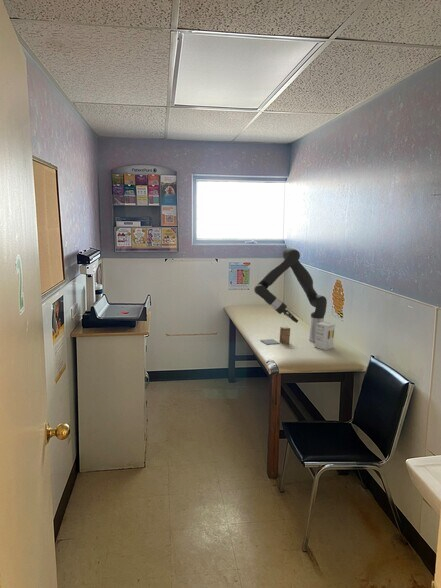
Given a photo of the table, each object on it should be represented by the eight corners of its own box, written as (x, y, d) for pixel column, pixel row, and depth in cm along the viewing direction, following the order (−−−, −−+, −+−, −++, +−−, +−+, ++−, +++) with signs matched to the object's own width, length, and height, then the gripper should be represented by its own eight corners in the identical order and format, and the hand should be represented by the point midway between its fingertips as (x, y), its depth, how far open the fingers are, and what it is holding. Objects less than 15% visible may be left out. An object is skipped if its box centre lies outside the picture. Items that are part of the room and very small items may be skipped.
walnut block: (279, 342, 308) (280, 326, 306) (285, 341, 310) (286, 326, 308) (282, 343, 303) (283, 328, 301) (289, 343, 305) (290, 328, 303)
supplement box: (326, 350, 292) (328, 325, 289) (314, 347, 299) (316, 323, 296) (333, 347, 299) (335, 323, 296) (321, 344, 305) (323, 321, 303)
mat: (260, 340, 309) (260, 339, 309) (272, 339, 312) (272, 339, 312) (266, 344, 300) (266, 343, 300) (279, 343, 303) (279, 342, 303)
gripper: (283, 302, 287) (302, 318, 288) (280, 300, 301) (297, 315, 302) (276, 310, 287) (294, 326, 288) (273, 308, 301) (290, 324, 302)
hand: (296, 321), depth 295 cm, fingers open, 8 cm apart
